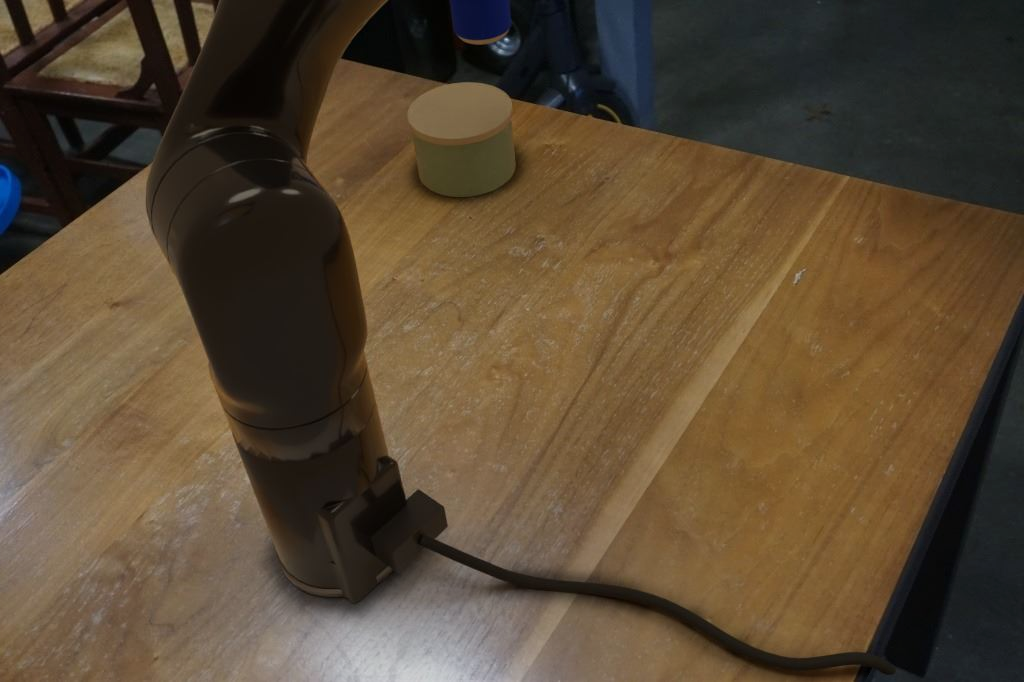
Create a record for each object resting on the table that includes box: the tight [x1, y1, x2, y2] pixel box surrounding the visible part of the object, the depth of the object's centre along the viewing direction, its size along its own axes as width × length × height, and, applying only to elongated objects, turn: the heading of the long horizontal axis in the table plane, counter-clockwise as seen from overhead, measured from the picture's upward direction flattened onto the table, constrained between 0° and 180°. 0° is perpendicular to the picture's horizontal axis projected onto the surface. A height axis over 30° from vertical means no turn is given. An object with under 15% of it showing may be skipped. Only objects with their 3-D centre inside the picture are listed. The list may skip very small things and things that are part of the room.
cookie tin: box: [406, 81, 517, 198], centre depth 111 cm, size 10×10×7 cm
